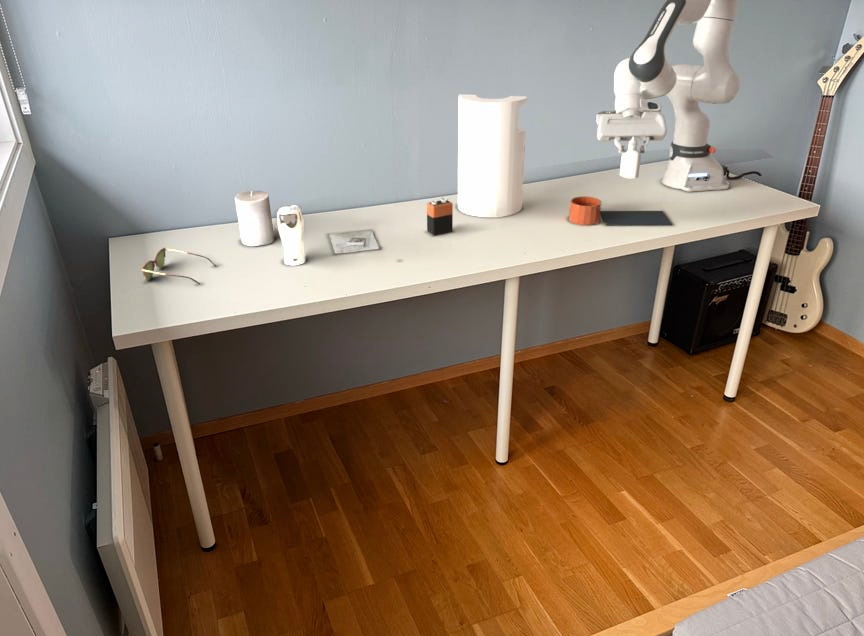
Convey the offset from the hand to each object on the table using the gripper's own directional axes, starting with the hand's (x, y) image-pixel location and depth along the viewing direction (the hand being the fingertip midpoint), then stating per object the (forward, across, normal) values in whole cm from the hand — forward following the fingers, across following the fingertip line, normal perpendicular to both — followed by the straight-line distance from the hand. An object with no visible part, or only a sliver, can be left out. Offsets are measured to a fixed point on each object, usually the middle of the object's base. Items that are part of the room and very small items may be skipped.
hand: (632, 152), depth 214 cm
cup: (+15, -13, +14) cm, 24 cm away
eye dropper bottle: (+5, 0, +6) cm, 8 cm away
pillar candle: (+27, -112, +2) cm, 115 cm away
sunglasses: (+44, -126, -16) cm, 135 cm away
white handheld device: (+38, -97, -9) cm, 105 cm away
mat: (+14, +3, +15) cm, 21 cm away
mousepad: (+30, -80, -2) cm, 85 cm away
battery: (+22, -58, +7) cm, 62 cm away
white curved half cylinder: (+10, -43, +20) cm, 48 cm away
